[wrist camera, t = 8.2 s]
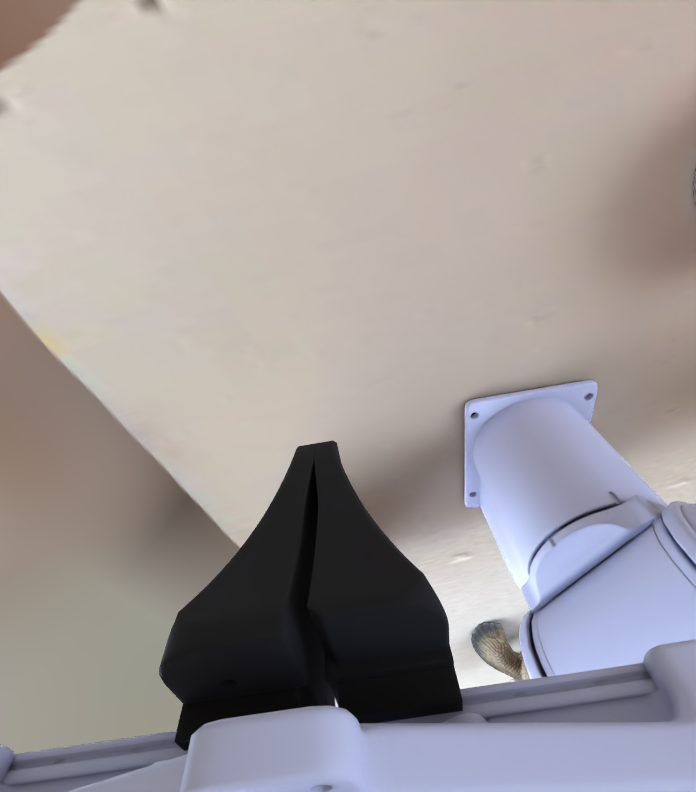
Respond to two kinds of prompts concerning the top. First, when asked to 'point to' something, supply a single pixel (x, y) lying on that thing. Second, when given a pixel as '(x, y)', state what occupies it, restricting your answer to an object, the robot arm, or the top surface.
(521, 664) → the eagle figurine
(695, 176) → the tin
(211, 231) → the top surface
